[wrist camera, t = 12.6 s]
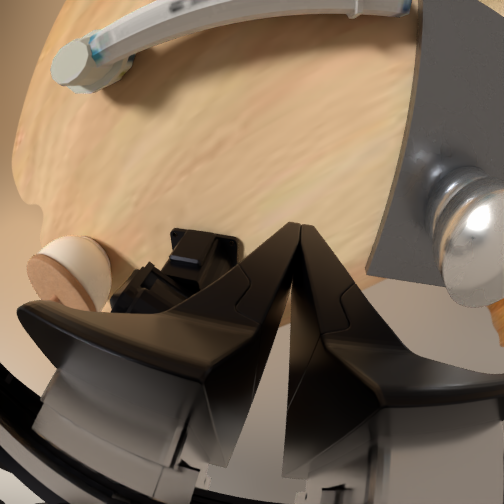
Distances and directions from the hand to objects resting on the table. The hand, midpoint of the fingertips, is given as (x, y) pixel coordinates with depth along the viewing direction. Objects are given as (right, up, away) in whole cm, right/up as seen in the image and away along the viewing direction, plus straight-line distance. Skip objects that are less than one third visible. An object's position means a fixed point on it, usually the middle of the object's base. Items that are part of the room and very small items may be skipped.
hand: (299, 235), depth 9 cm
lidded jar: (-22, -1, +22) cm, 31 cm away
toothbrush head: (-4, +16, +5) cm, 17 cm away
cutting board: (+20, +7, +5) cm, 22 cm away
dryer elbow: (+20, +1, +5) cm, 20 cm away
